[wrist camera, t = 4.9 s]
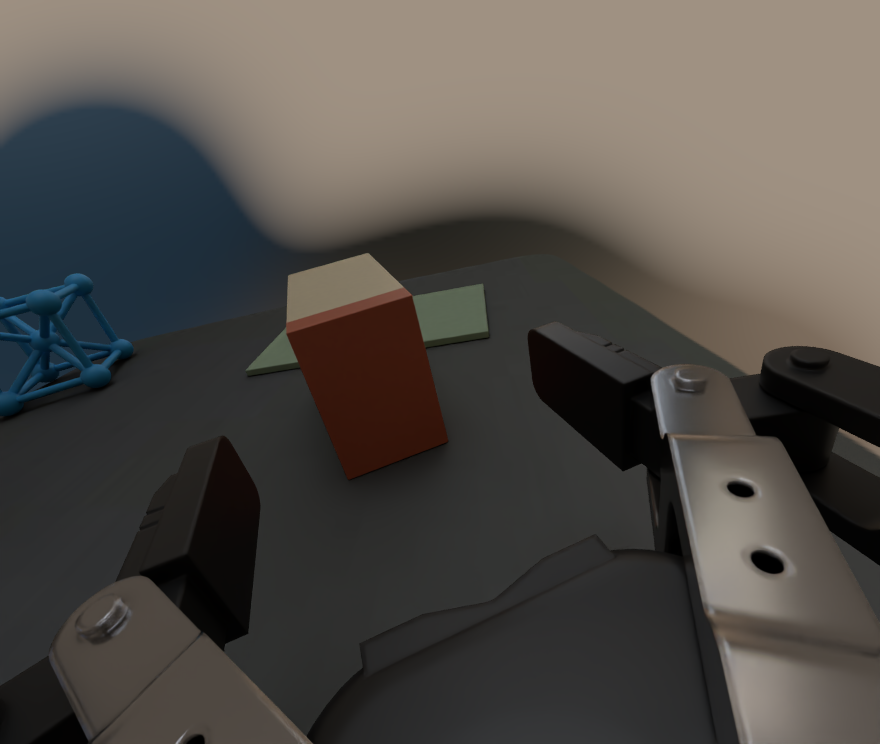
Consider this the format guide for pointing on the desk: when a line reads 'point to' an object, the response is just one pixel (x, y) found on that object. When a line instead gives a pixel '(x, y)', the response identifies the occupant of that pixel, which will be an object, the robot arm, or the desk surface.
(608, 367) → the robot arm
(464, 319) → the mat
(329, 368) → the carton
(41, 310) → the molecular structure
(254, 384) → the desk surface
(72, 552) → the desk surface
